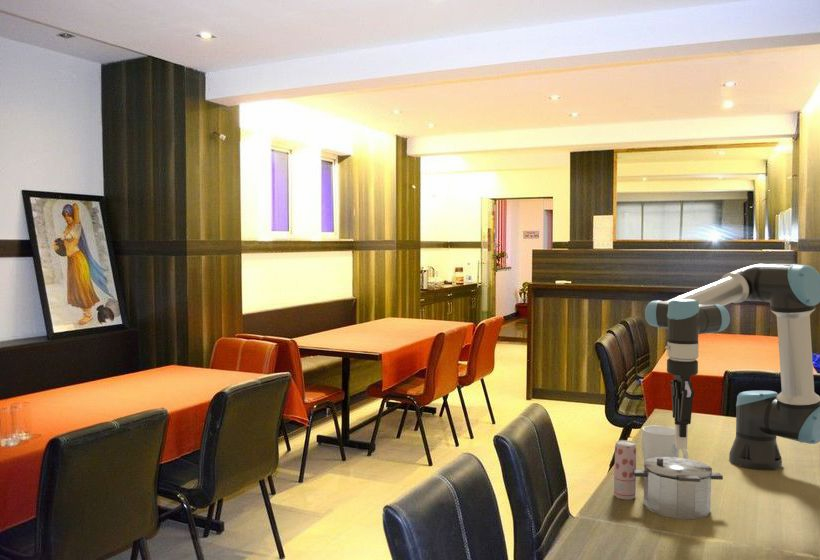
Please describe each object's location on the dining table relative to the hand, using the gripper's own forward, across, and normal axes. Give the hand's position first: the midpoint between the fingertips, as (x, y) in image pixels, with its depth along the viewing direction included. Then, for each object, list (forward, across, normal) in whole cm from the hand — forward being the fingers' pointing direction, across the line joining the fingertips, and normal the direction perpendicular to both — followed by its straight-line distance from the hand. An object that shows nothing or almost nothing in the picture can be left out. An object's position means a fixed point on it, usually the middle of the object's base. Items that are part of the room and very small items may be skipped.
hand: (681, 448), depth 183 cm
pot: (+17, -2, 0) cm, 17 cm away
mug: (+17, -31, +4) cm, 35 cm away
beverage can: (+17, -9, -12) cm, 23 cm away
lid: (+6, -1, 0) cm, 6 cm away
